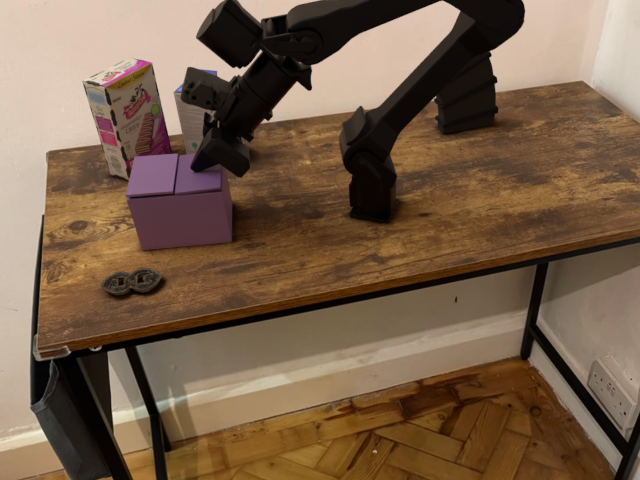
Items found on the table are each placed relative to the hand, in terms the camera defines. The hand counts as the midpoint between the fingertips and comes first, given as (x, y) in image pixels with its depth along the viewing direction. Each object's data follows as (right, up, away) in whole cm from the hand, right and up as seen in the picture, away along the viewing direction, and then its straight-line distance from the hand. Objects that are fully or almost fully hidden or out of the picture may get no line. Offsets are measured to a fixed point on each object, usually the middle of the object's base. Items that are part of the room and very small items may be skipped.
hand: (193, 169), depth 96 cm
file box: (-2, -7, +6) cm, 10 cm away
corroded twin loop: (-7, -17, -4) cm, 19 cm away
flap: (+1, 0, +1) cm, 1 cm away
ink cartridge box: (-2, +8, +22) cm, 24 cm away
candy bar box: (-14, +6, +20) cm, 25 cm away
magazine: (+42, +16, +30) cm, 54 cm away
